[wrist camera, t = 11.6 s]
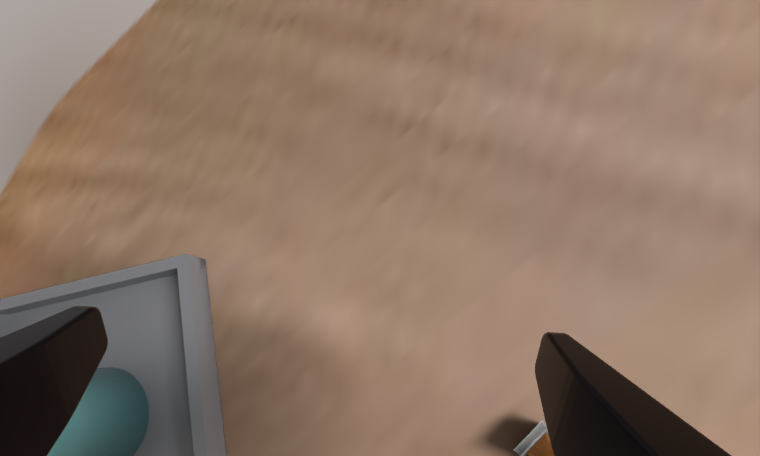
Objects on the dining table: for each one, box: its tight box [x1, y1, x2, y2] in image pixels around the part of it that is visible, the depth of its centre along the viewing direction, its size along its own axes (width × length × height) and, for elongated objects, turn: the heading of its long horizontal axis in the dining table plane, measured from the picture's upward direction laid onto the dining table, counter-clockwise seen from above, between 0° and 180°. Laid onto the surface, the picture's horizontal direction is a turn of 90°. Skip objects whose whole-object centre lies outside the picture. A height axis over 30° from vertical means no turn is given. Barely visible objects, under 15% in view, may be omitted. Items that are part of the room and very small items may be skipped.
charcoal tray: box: [0, 254, 226, 456], centre depth 22 cm, size 14×12×2 cm
